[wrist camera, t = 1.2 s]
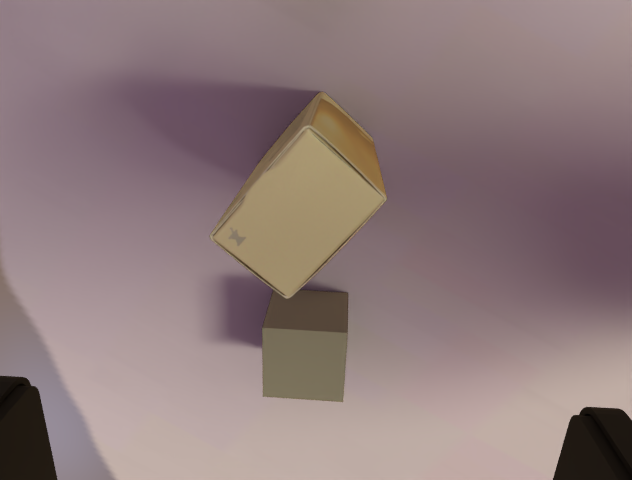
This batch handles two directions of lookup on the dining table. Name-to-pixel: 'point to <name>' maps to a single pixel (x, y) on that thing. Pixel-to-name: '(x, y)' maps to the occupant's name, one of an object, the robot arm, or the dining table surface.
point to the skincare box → (304, 198)
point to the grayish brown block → (305, 345)
